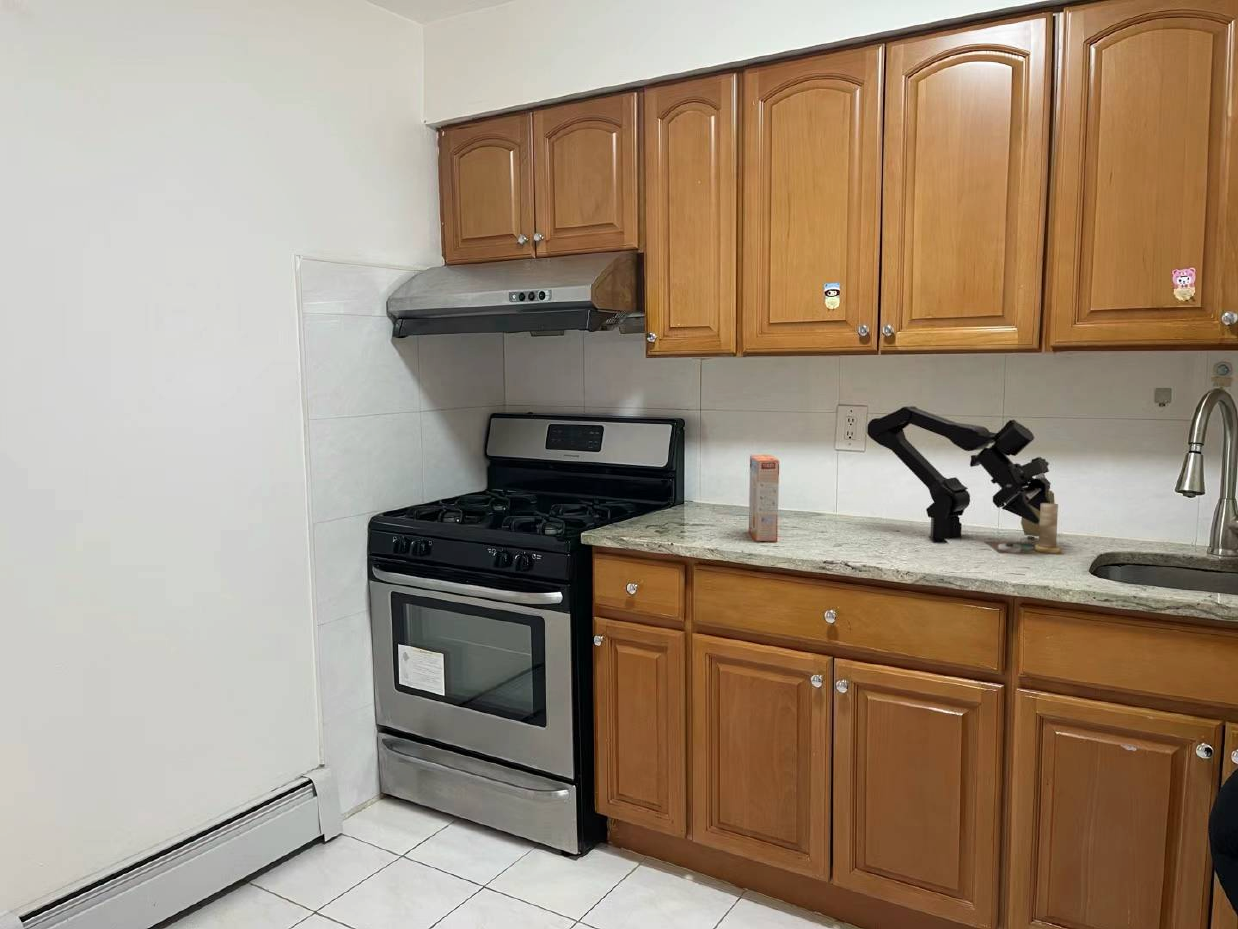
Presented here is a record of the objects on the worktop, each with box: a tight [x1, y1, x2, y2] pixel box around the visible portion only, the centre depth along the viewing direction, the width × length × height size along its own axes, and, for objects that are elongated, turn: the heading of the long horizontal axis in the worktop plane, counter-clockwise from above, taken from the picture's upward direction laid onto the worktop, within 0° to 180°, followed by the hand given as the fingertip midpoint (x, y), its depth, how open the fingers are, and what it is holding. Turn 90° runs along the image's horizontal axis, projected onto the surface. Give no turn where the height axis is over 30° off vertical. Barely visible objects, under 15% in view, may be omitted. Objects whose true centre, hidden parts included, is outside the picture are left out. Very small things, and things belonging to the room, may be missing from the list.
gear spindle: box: [1035, 503, 1061, 555], centre depth 204 cm, size 5×5×11 cm
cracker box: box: [748, 454, 780, 543], centre depth 229 cm, size 14×6×21 cm, turn 179°
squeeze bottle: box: [1020, 473, 1056, 537], centre depth 225 cm, size 8×8×18 cm
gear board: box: [983, 535, 1065, 556], centre depth 209 cm, size 14×14×3 cm
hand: (1046, 520), depth 204 cm, fingers open, 9 cm apart
